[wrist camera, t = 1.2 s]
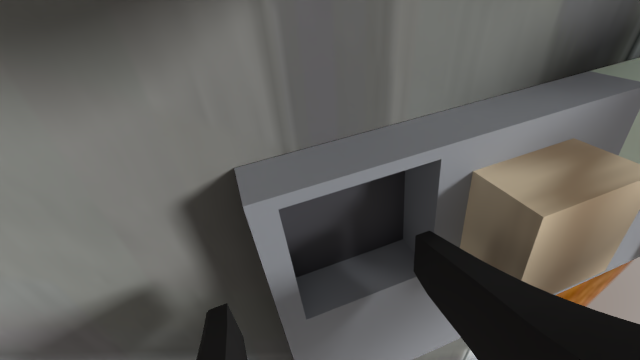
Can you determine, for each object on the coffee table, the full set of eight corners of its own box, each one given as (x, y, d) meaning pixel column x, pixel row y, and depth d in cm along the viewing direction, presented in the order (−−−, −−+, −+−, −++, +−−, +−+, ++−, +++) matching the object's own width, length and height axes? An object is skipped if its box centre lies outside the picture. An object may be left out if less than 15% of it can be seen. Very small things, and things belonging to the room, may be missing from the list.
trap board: (717, 36, 17) (842, 47, 14) (614, 229, 25) (678, 265, 21) (233, 168, 11) (250, 238, 8) (297, 362, 19) (318, 437, 16)
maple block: (573, 138, 13) (660, 172, 11) (541, 227, 16) (604, 270, 13) (472, 171, 12) (543, 217, 10) (457, 260, 15) (509, 314, 12)
